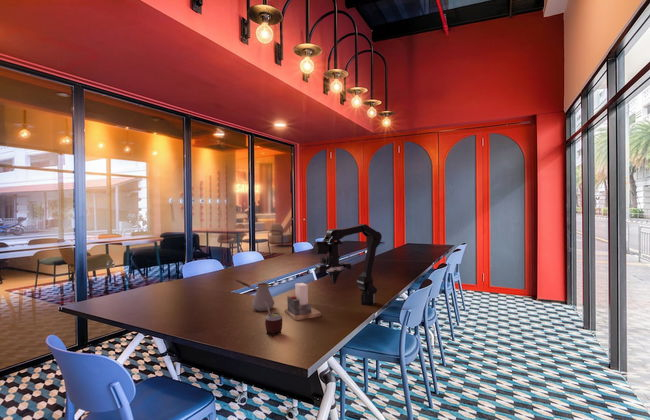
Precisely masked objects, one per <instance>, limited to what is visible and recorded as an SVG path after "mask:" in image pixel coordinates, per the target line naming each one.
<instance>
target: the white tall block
mask: <svg viewBox="0 0 650 420" xmlns="http://www.w3.org/2000/svg"><path fill="white" fill-rule="evenodd" d="M294 285H295V287H294V290H295V292H294V293H295V296H296V298H297V299H298V300H299V306H300V305H307V304H309V301H308V300H309V299H308V297H309V294H308V292H309V291H308V290H309V289H308V287H309V286H308V284H306V283H304V282H299V283H298V282H297V283H294Z"/></svg>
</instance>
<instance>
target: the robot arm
mask: <svg viewBox="0 0 650 420" xmlns="http://www.w3.org/2000/svg"><path fill="white" fill-rule="evenodd" d="M359 233H362V235H363V236H365V240H366V241H365V242H366V245H367V248H366V254H365V259H364V265H363V269H362V273H361V274H358V275H357V280H356V283H357V287H358V288H359V289H360V291H361V295H360V303H361V305H365V306H366V305H367V306H374V305H375V304H376V298H375V296H376V294H377V292H378V289H377V288H376V287H375V285H374V279H373V275H372V274H373V269H374V262H375V258H376V253H377V248H378V246H379V245H380V244H381V241H382V238H383V236H382V234H381V232H380V231H377V230H375V229H374V228H372V227H371V226H369V225H368V224H366V223H360V224H357V225H352V226H347V227H344V228H329V229H327V231H326V235H325V236H324V238H323V239H322V241H319V240H316V241H314V245H313V248H312V249H313V250H312V251H313V253H314V255H315V256H317V255H318V256H319V255H326V258H325V257H320V258H319V263H320V264H316V266H315V269H314V270H315V271H316V272H318V273H326V272H327V273H328V274H329V277H330V280H331V283H332V285H335V284H336V283H337V280H338V279H339V276H340V274H341V273H343V270H342V269H346V270H352V269H353V266H352V263H350V262H340V258H341V255H340V245H343V244H344V243H343V242H342V241H341V239H343V238H345V237H348V236H351V235H356V234H359Z"/></svg>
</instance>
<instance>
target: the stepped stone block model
mask: <svg viewBox="0 0 650 420" xmlns="http://www.w3.org/2000/svg"><path fill="white" fill-rule="evenodd" d="M286 301H287V309H284V313H285V314H286V315H288V316H289V317H290V318H291V319H292V320H293V321H299V320H306V319H314V318H318V317H322V312H320V311H318V310H317V309H316V308H314V307H312V304H311V303H310V304H309V303H308V304H307V305H300V306H299V300H298V299H297V298H296V296H295V295H288V296H287V300H286Z"/></svg>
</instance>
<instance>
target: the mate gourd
mask: <svg viewBox="0 0 650 420" xmlns="http://www.w3.org/2000/svg"><path fill="white" fill-rule="evenodd" d="M263 302H264V301H263ZM264 303H265V304H266V306H267V308H268V310H267V311H268V314H267V315H266V317H265V321H264V323H265V324H264V325H265V330H266V333H265V334H266V335H271V337H275V336H276V335H282V329H283V316H282V315H281V314H280V313H278V312H272V313H271V311H270V310H271V309H270V310H269V306H268V304H267V303H266V302H264Z"/></svg>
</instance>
